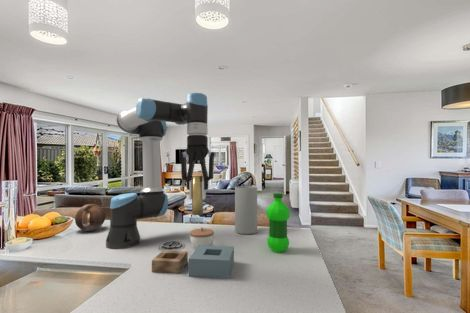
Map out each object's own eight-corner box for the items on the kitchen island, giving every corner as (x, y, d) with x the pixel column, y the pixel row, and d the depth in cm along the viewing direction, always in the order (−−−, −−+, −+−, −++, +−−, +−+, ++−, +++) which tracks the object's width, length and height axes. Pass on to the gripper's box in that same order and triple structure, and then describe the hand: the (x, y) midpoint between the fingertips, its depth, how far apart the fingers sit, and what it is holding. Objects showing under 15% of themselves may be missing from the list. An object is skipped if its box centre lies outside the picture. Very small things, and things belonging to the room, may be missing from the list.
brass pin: (190, 215, 90) (190, 176, 90) (193, 213, 94) (193, 175, 94) (201, 215, 89) (201, 176, 90) (204, 213, 93) (204, 175, 94)
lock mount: (151, 271, 88) (151, 260, 88) (162, 260, 98) (163, 250, 98) (179, 273, 87) (179, 261, 87) (187, 261, 97) (187, 251, 97)
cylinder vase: (243, 227, 148) (243, 185, 149) (261, 231, 141) (261, 186, 142) (230, 232, 138) (230, 187, 139) (249, 236, 131) (249, 188, 131)
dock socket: (188, 276, 85) (188, 258, 85) (198, 260, 99) (198, 245, 99) (229, 278, 83) (229, 260, 83) (233, 261, 97) (234, 246, 97)
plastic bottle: (270, 245, 117) (270, 191, 117) (292, 248, 112) (292, 193, 113) (263, 252, 108) (263, 194, 108) (287, 256, 103) (286, 195, 104)
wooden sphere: (87, 226, 150) (88, 201, 150) (110, 227, 148) (111, 202, 148) (67, 233, 135) (68, 206, 135) (93, 235, 133) (93, 206, 133)
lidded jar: (204, 243, 119) (204, 223, 120) (218, 248, 112) (218, 227, 112) (184, 248, 112) (185, 227, 112) (199, 255, 104) (199, 232, 104)
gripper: (171, 134, 90) (171, 200, 89) (217, 133, 88) (218, 200, 87) (178, 137, 97) (179, 197, 96) (221, 136, 95) (222, 197, 94)
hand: (197, 198), depth 92 cm, fingers closed on brass pin, 4 cm apart
